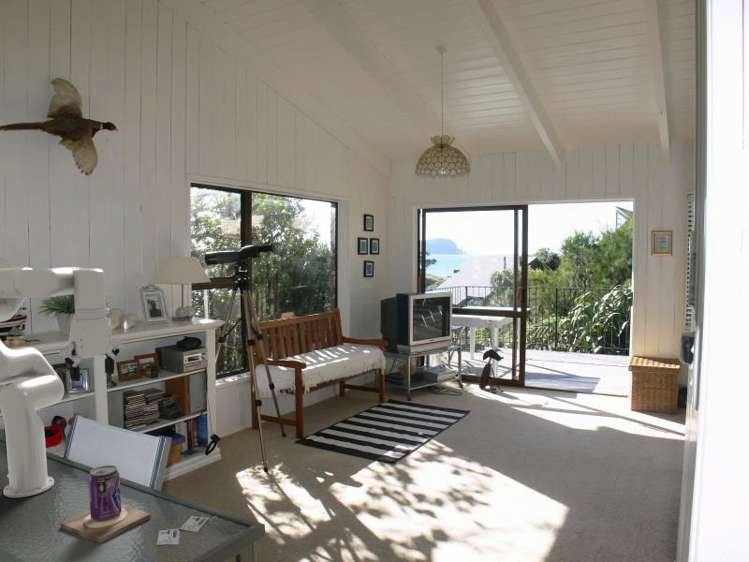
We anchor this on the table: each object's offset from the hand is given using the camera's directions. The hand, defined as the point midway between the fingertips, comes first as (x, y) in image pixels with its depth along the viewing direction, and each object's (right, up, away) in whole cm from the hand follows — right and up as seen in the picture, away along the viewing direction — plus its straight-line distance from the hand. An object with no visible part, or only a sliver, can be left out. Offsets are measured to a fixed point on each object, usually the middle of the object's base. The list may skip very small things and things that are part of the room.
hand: (92, 377), depth 159 cm
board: (+9, -35, -12) cm, 38 cm away
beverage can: (+9, -33, -11) cm, 36 cm away
